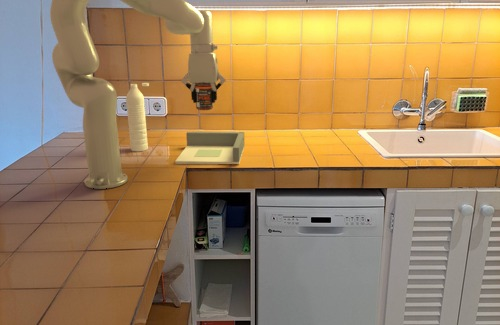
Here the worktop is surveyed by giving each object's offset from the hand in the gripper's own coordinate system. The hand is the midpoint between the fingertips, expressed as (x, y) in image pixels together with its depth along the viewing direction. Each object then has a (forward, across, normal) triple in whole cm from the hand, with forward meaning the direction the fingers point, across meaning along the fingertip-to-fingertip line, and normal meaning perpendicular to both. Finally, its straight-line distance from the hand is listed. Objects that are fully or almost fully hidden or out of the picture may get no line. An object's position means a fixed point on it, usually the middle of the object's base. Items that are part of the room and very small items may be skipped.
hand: (204, 101), depth 157 cm
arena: (+20, -2, -1) cm, 20 cm away
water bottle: (+20, +26, -8) cm, 34 cm away
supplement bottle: (+3, 0, 0) cm, 3 cm away
